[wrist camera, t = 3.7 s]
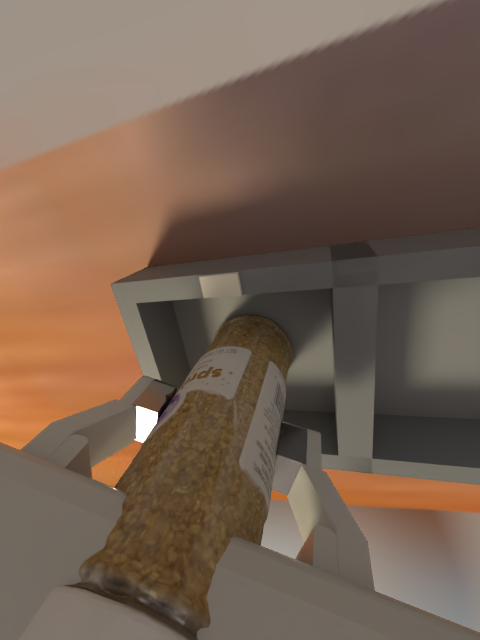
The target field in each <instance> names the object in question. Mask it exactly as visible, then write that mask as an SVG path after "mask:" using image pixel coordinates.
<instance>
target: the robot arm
mask: <svg viewBox="0 0 480 640" xmlns="http://www.w3.org/2000/svg"><path fill="white" fill-rule="evenodd" d="M178 390H179V388H178V387H177V386H175V385H172V384H169V383H166V382H163V381H161V380H158V379H154V378H151V377H149V376H146V375H145V376H142V377H141V378H140V379H139V380H138V381H137V382H136V383H135V384H134V385H133V386H132V388H131V389H130V390H129V391H128V392H127V393H126V394H125V395H124V396H123V397H122V398H121V399H120V400H113V401H110V402H107V403H105V404H102V405H99V406H97V407H94V408H91V409H88V410H86V411H83V412H80V413H77V414H75V415H72V416H69V417H66V418H64V419H61V420H58V421H55V422H53V423H51V424H50V425H49V426H47V427H46V428H45V429H44V430H43V431H42V432H41V433H39V434H38V435H37V436H36V437H35V438H34V439H33V440H31V441H30V442H29V443H28V444H27V445H26V446H25V447H23V448H22V449H21V450H18V449H16V448H13V447H11V446H8V445H6V444H3V443H1V442H0V640H19V638H20V637H21V635H22V634H23V632H24V631H25V629H26V628H27V626H28V625H29V623H30V622H31V620H32V619H33V617H34V616H35V614H36V613H37V612H38V610H39V609H40V607H41V606H42V604H43V603H44V601H45V600H46V598H47V597H48V595H49V594H50V593H51V591H52V590H53V589H55V588H56V587H59V586H63V585H73V584H76V583H79V582H81V579H80V576H79V573H78V571H79V568H80V566H81V565H82V563H83V562H84V561H85V560H87V559H88V558H90V557H91V556H93V555H94V554H95V553H97V552H98V551H100V550H101V549H103V548H104V547H105V545H106V540H107V536H108V535H109V534H110V532H111V531H112V529H113V528H114V527H115V525H116V523H117V520H118V519H119V518H120V516H121V515H122V510H123V509H122V503H123V501H124V499H125V498H126V497H127V495H126V494H125V492H124V491H121V490H119V489H116V488H114V487H111V486H109V485H106V484H104V483H101V482H99V481H96V480H94V479H92V472H91V467H93V466H95V465H96V464H98V463H100V462H101V461H103V460H105V459H106V458H108V457H110V456H111V455H113V454H114V453H116V452H118V451H119V450H121V449H123V448H124V447H126V446H128V445H129V444H131V443H133V442H134V441H135V440H137V441H140V442H144V440H145V439H146V437H147V436H148V434H149V433H150V431H151V430H152V428H153V427H154V425H155V424H156V422H157V421H158V420H159V418H160V417H161V415H162V414H163V412H164V411H165V410H166V408H167V407H168V405H169V403H170V402H171V400H172V399H173V397H174V396H175V394H176V393H177V392H178ZM272 490H275V491H277V492H280V493H282V494H285V495H288V496H287V497H288V500H289V503H290V506H291V508H292V511H293V514H294V516H295V519H296V522H297V525H298V528H299V530H300V533H301V536H302V538H303V542H304V545H303V547H302V548H301V550H300V552H299V553H298V555H297V557H296V559H293V558H290V557H288V556H285V555H283V554H280V553H278V552H275V551H273V550H270V549H268V548H265V547H263V546H260V545H258V544H255V543H253V542H250V541H247V540H245V539H242V538H238V537H232V538H230V543H229V545H228V546H227V548H226V551H225V552H224V554H223V555H222V557H221V559H220V560H219V562H218V563H217V564H216V571H215V572H214V574H213V577H212V581H211V586H210V588H209V591H208V593H207V601H208V606H209V614H210V620H211V623H210V626H209V627H208V628H202V629H200V630H199V631H197V639H198V640H480V633H479V632H477V631H474V630H471V629H469V628H467V627H464V626H461V625H459V624H456V623H454V622H451V621H449V620H446V619H444V618H441V617H439V616H436V615H434V614H431V613H429V612H426V611H424V610H421V609H419V608H416V607H414V606H411V605H409V604H406V603H404V602H401V601H399V600H396V599H393V598H391V597H388V596H386V595H383V594H381V593H378V592H376V591H375V590H374V583H373V576H372V570H371V562H370V555H369V548H368V542H367V540H366V538H365V537H364V535H363V533H362V532H361V530H360V528H359V527H358V525H357V523H356V522H355V520H354V518H353V517H352V515H351V513H350V512H349V510H348V508H347V507H346V505H345V503H344V502H343V500H342V498H341V497H340V495H339V493H338V492H337V490H336V488H335V487H334V485H333V483H332V482H331V480H330V478H329V477H328V475H327V473H326V472H324V471H322V462H321V434H320V432H316V431H313V430H310V429H306V428H304V427H300V426H297V425H294V424H291V423H288V422H285V421H281V428H280V437H279V441H278V447H277V454H276V464H275V471H274V478H273V484H272Z"/></svg>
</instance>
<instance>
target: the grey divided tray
mask: <svg viewBox="0 0 480 640" xmlns="http://www.w3.org/2000/svg"><path fill="white" fill-rule="evenodd" d="M111 287H112V290H113V292H114V295H115V298H116V301H117V304H118V306H119V309H120V312H121V315H122V318H123V321H124V323H125V326H126V329H127V332H128V335H129V337H130V340H131V343H132V346H133V349H134V351H135V354H136V357H137V360H138V363H139V365H140V368H141V371H142V374H143V376H145V375H146V376H149V377H151V378H154V379H158V380H161V381H163V382H166V383H169V384H172V385H175V386H177V387H178V388H179V389H180V387H181V386H182V384H183V383H184V381H185V379H186V378H187V376H188V375H189V373H190V372H191V370H192V369H193V367H194V366H195V364H196V363H197V362H198V360H199V359H200V358H201V357H202V356H203V355H204V354H205V352H206V351H207V349H208V348H209V346H210V345H211V343H212V342H213V339H214V336H215V333H216V332H217V331H218V329H219V327H220V326H221V325H223V324H224V323H225V322H227V321H228V320H230V319H232V318H234V317H237V316H243V315H251V316H261V317H264V318H266V319H269V320H272V321H273V322H274V323H275V324H277V325H278V326H279V327H280V328H281V329H282V330H283V331H284V333H285V334H286V335H287V337H288V339H289V341H290V343H291V346H292V352H293V358H292V362H291V366H290V368H289V370H288V373H287V379H286V384H285V386H286V399H285V406H284V412H283V419H282V421H285V422H288V423H291V424H294V425H297V426H300V427H304V428H306V429H310V430H313V431H316V432H320V434H321V462H322V468H324V469H334V470H343V471H353V472H362V473H372V474H381V475H391V476H400V477H410V478H419V479H429V480H438V481H448V482H457V483H467V484H476V485H480V228H472V229H464V230H455V231H447V232H439V233H430V234H422V235H414V236H405V237H397V238H388V239H380V240H372V241H363V242H355V243H347V244H338V245H330V246H321V247H313V248H305V249H296V250H288V251H279V252H271V253H263V254H254V255H246V256H238V257H229V258H221V259H212V260H204V261H196V262H187V263H179V264H170V265H162V266H154V267H147V268H144V269H142V270H140V271H138V272H136V273H133V274H131V275H129V276H127V277H125V278H122V279H120V280H118V281H116V282H114V283H112V284H111Z"/></svg>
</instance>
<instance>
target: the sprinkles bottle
mask: <svg viewBox="0 0 480 640" xmlns="http://www.w3.org/2000/svg"><path fill="white" fill-rule="evenodd" d="M292 358H293V352H292V346H291V343H290V341H289V339H288V337H287V335H286V334H285V333H284V331H283V330H282V329H281V328H280V327H279V326H278V325H277V324H275V323H274V322H273V321H272V320H269V319H266V318H264V317H261V316H251V315H243V316H237V317H234V318H232V319H230V320H228V321H227V322H225V323H224V324H223V325H221V326H220V327H219V329H218V331H217V332H216V333H215V336H214V339H213V342H212V343H211V345H210V346H209V348H208V349H207V351H206V352H205V354H204V355H203V356H202V357H201V358H200V359H199V360H198V362H197V363H196V364H195V366H194V367H193V369H192V370H191V372H190V373H189V375H188V376H187V378H186V379H185V381H184V383H183V384H182V386H181V387H180V389H179V390H178V392H177V393H176V394H175V396H174V397H173V399H172V400H171V402H170V403H169V405H168V407H167V408H166V410H165V411H164V412H163V414H162V415H161V417H160V418H159V420H158V421H157V422H156V424H155V425H154V427H153V428H152V430H151V431H150V433H149V434H148V436H147V437H146V439H145V440H144V442H143V443H142V446H141V449H140V451H139V452H138V454H137V455H136V457H135V458H134V459H133V461H132V463H131V464H130V466H129V468H128V469H127V470H126V471H125V473H124V474H123V476H122V477H121V478H120V480H119V481H118V483H117V484H116V486H115V487H114V488H116V489H119V490H121V491H124V492H125V494H126V495H127V497H126V498H125V499H124V501H123V503H122V509H123V510H122V515H121V516H120V518H119V519H118V520H117V523H116V525H115V527H114V528H113V529H112V531H111V532H110V534H109V535H108V536H107V540H106V545H105V547H104V548H103V549H101V550H100V551H98V552H97V553H95V554H94V555H93V556H91V557H90V558H88V559H87V560H85V561H84V562H83V563H82V565H81V566H80V568H79V571H78V573H79V576H80V579H81V582H79V583H76V584H73V585H63V586H59V587H56V588H55V589H53V590H52V591H51V593H50V594H49V595H48V597H47V598H46V600H45V601H44V603H43V604H42V606H41V607H40V609H39V610H38V612H37V613H36V614H35V616H34V617H33V619H32V620H31V622H30V623H29V625H28V626H27V628H26V629H25V631H24V632H23V634H22V635H21V637H20V638H19V640H198V639H197V631H199V630H200V629H202V628H208V627H209V626H210V623H211V620H210V614H209V606H208V601H207V593H208V591H209V588H210V586H211V581H212V577H213V574H214V572H215V571H216V564H217V563H218V562H219V560H220V559H221V557H222V555H223V554H224V552H225V551H226V548H227V546H228V545H229V543H230V538H232V537H238V538H242V539H245V540H247V541H250V542H253V543H255V544H258V545H260V546H261V539H262V534H263V527H264V523H265V521H266V519H267V516H268V511H269V504H270V498H271V491H272V484H273V478H274V471H275V464H276V454H277V447H278V441H279V437H280V428H281V421H282V419H283V412H284V406H285V399H286V386H285V384H286V379H287V373H288V370H289V368H290V366H291V362H292Z"/></svg>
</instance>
